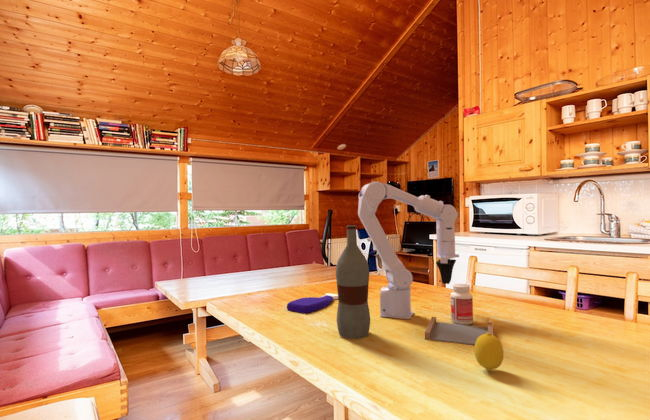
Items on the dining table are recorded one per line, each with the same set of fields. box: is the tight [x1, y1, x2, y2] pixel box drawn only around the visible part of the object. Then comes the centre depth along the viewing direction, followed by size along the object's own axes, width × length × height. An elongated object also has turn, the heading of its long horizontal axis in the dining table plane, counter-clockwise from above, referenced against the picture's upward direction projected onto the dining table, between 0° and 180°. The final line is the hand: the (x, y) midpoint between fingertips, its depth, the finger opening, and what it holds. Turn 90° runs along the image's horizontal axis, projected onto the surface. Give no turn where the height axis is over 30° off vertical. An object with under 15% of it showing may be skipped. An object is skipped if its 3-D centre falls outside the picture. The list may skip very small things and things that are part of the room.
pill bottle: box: [450, 283, 474, 325], centre depth 109 cm, size 6×6×11 cm
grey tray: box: [424, 316, 494, 346], centre depth 99 cm, size 16×15×2 cm
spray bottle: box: [286, 292, 338, 314], centre depth 134 cm, size 3×11×24 cm
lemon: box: [473, 333, 504, 372], centre depth 76 cm, size 6×6×8 cm
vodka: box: [335, 224, 371, 340], centre depth 101 cm, size 9×9×30 cm
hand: (446, 282), depth 119 cm, fingers open, 3 cm apart
